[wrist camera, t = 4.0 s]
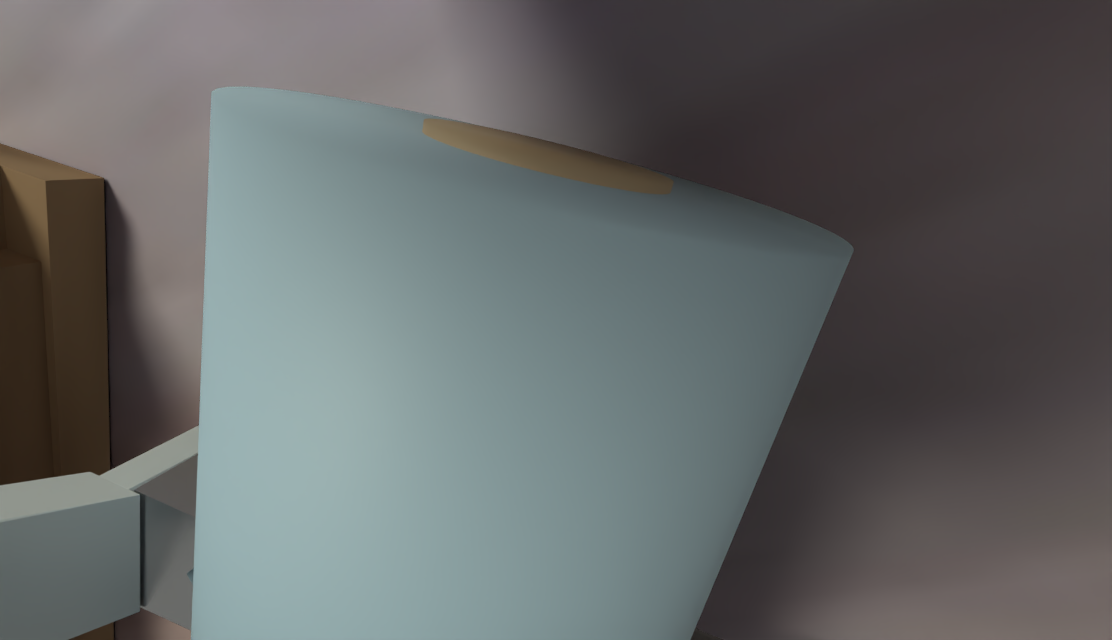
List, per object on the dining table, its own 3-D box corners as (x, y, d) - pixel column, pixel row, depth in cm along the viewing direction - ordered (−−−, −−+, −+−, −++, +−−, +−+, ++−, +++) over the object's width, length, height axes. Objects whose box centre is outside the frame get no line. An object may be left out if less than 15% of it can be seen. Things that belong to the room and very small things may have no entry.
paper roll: (825, 207, 8) (951, 312, 2) (599, 783, 11) (460, 1303, 6) (441, 105, 9) (0, 31, 4) (353, 650, 13) (70, 986, 7)
